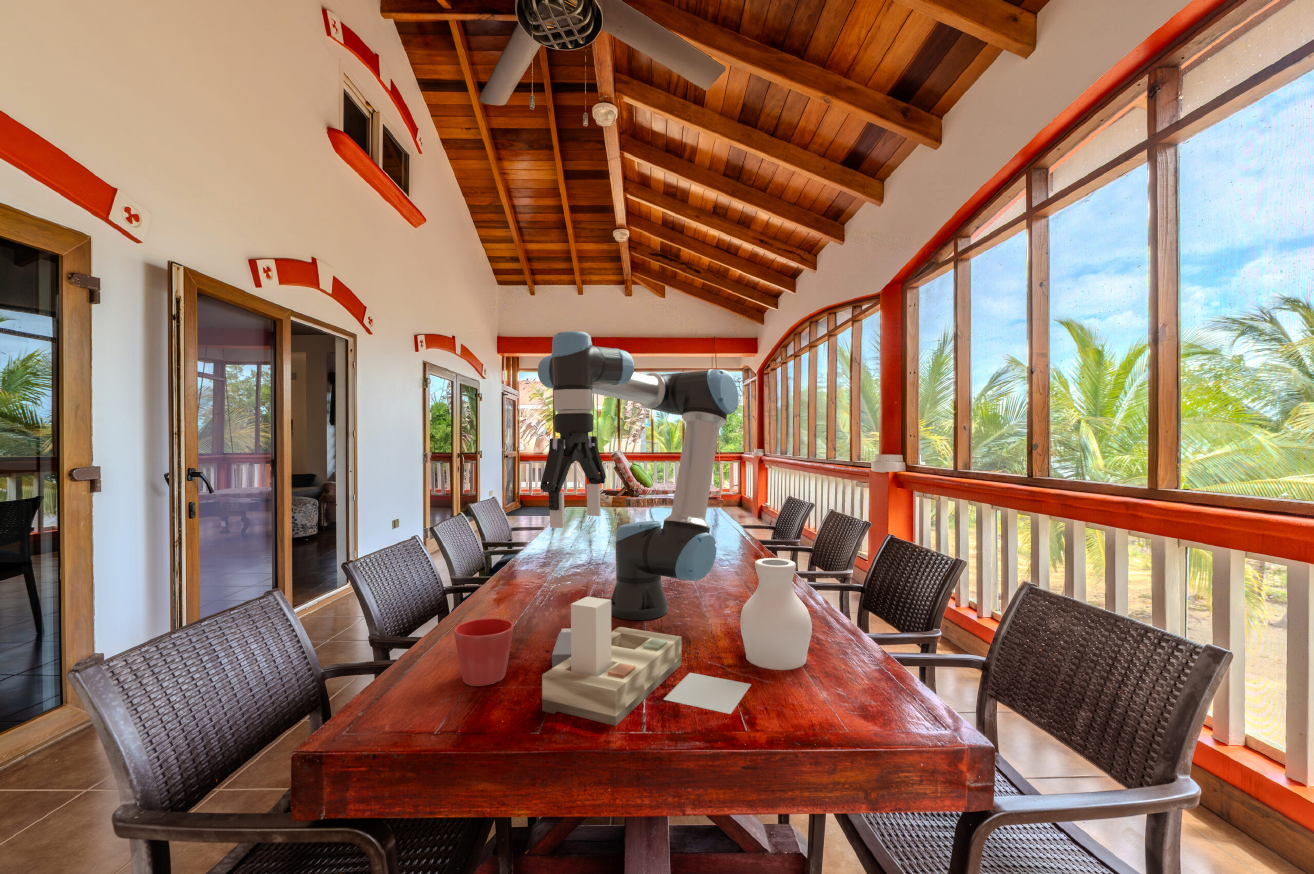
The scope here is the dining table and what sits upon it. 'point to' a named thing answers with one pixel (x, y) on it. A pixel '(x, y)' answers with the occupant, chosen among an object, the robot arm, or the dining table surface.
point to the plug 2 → (591, 636)
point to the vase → (775, 619)
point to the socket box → (614, 677)
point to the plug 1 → (562, 647)
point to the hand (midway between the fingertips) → (576, 521)
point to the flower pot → (483, 650)
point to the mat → (708, 692)
